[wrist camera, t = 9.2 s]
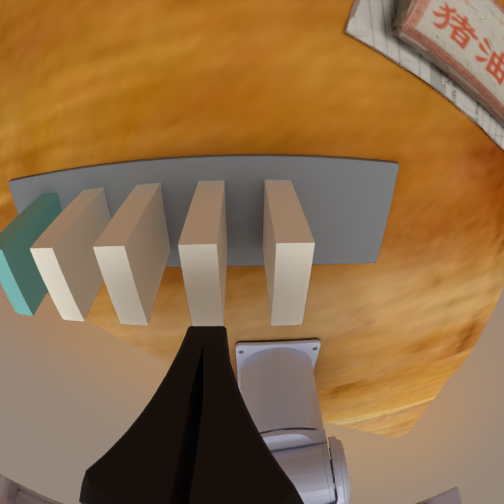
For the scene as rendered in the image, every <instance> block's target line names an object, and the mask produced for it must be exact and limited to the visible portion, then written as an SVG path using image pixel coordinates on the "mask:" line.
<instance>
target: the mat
mask: <svg viewBox="0 0 504 504" xmlns="http://www.w3.org/2000/svg"><path fill="white" fill-rule="evenodd" d="M398 167H399V164H398V163H397V162H392V161H383V160H372V159H361V158H347V157H332V156H311V155H272V154H245V155H206V156H186V157H170V158H156V159H145V160H134V161H125V162H116V163H107V164H99V165H92V166H85V167H78V168H71V169H65V170H59V171H53V172H48V173H42V174H37V175H32V176H27V177H22V178H17V179H13V180H10V181H9V182H8V183H9V187H10V190H11V194H12V197H13V200H14V204H15V207H16V210H17V213H18V215H19V214H20V213H21V212H22V211H23V210H24V209H26V208H27V207H28V206H29V205H30V204H31V203H32V202H33V201H34V200H35V199H37V198H38V197H39V196H40V195H41V194H49V193H58V196H59V201H60V205H61V209H62V211H63V210H64V209H65V208H66V207H67V206H68V205H69V204H70V203H71V202H72V201H73V200H74V199H75V198H76V197H77V196H78V195H79V194H80V193H81V192H82V191H83V190H85V189H94V188H104V191H105V195H106V200H107V204H108V209H109V213H110V217H111V219H112V218H113V216H114V215H115V213H116V212H117V211H118V209H119V208H120V206H121V205H122V204H123V202H124V201H125V200H126V198H127V197H128V196H129V194H130V193H131V192H132V190H133V189H134V188H135V186H136V185H138V184H152V183H161V190H162V197H163V204H164V211H165V218H166V224H167V231H168V237H169V243H170V249H171V250H170V253H169V257H168V260H167V263H166V266H165V267H181V261H180V255H179V249H178V243H179V240H180V236H181V233H182V230H183V227H184V223H185V220H186V217H187V214H188V211H189V208H190V205H191V202H192V199H193V196H194V193H195V190H196V187H197V184H198V181H215V180H225V201H226V225H227V246H228V251H227V266H265V264H264V255H263V221H264V181H265V180H291V182H292V184H293V187H294V189H295V192H296V194H297V197H298V199H299V202H300V205H301V207H302V210H303V212H304V215H305V218H306V220H307V223H308V225H309V228H310V231H311V233H312V236H313V239H314V242H315V246H314V253H313V260H312V265H319V264H357V263H376V261H377V257H378V254H379V250H380V246H381V243H382V239H383V235H384V231H385V227H386V223H387V219H388V215H389V210H390V206H391V202H392V197H393V192H394V188H395V183H396V178H397V173H398Z"/></svg>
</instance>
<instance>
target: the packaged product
mask: <svg viewBox="0 0 504 504" xmlns="http://www.w3.org/2000/svg"><path fill="white" fill-rule="evenodd" d="M344 33H346V34H348V35H350V36H352V37H353V38H355V39H357V40H359V41H360V42H362V43H364V44H365V45H367V46H369V47H370V48H372V49H374V50H376V51H377V52H379V53H381V54H382V55H384V56H385V57H387V58H389V59H390V60H392V61H393V62H395V63H396V64H398V65H400V66H401V67H403V68H405V69H407V70H408V71H410V72H412V73H414V74H415V75H417V76H418V77H420V78H421V79H422V80H424V81H425V82H426V83H428V84H429V85H430V86H432V87H433V88H434V89H435V90H437V91H438V92H439V93H440V94H442V95H443V96H444V97H446V98H447V99H448V100H449V101H450V102H452V103H453V104H454V105H455V106H456V107H457V108H458V109H459V110H460V111H461V112H462V113H463V114H464V115H466V116H467V117H468V118H469V119H470V120H472V121H473V122H474V123H476V124H477V125H479V126H480V127H481V128H482V129H483V130H484V131H485V132H486V133H487V134H488V135H489V136H490V138H491V139H492V140H493V141H494V142H495V143H496V144H497V145H498V146H499V147H500V148H502V149H503V150H504V8H503V7H502V6H501V5H500V4H499V3H498V2H497V1H496V0H355V1H354V3H353V6H352V8H351V11H350V15H349V18H348V21H347V24H346V27H345V30H344Z"/></svg>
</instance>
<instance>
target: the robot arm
mask: <svg viewBox="0 0 504 504" xmlns="http://www.w3.org/2000/svg"><path fill="white" fill-rule="evenodd" d="M320 346H321V342H320V340H301V341H281V342H250V343H238V344H236V362H237V378H238V385H237V382H236V379H235V376H234V372H233V369H232V366H231V362H230V356H229V348H228V340H227V331H226V328H225V327H224V326H190V327H189V328H188V330H187V333H186V335H185V338H184V340H183V342H182V344H181V347H180V349H179V351H178V353H177V355H176V357H175V359H174V361H173V363H172V365H171V367H170V369H169V371H168V372H167V375H166V376H165V378H164V379H163V381H162V383H161V384H160V386H159V388H158V389H157V391H156V393H155V394H154V396H153V397H152V399H151V400H150V402H149V403H148V405H147V406H146V407H145V409H144V410H143V412H142V413H141V414H140V416H139V417H138V418H137V420H136V421H135V422H134V423H133V425H132V426H131V427H130V428H129V429H128V431H127V432H126V433H125V434H124V435H123V436H122V437H121V438H120V439H119V440H118V441H117V442H116V443H115V445H114V446H113V447H112V448H111V449H110V450H109V451H108V452H107V453H106V454H105V455H103V457H101V458H100V459H99V460H98V461H97V462H96V463H94V464H93V465H92V466H91V467H90V468H89V469H87V470H86V473H85V476H84V479H83V482H82V487H81V493H80V499H79V501H80V502H81V503H82V504H350V500H349V495H350V485H349V477H348V470H347V464H346V459H345V453H344V449H343V445H342V442H341V441H340V440H338V439H336V438H335V437H334V436H333V437H329V438H328V439H329V446H330V448H329V451H330V457H331V460H330V458H329V452H328V446H327V440H326V434H325V429H324V428H323V421H322V415H321V410H320V404H319V398H318V393H317V387H316V382H315V377H314V371H313V370H314V367H315V364H316V360H317V357H318V353H319V350H320ZM333 483H335V490H334V484H333ZM0 504H62V503H60V502H57V501H55V500H52V499H50V498H47V497H45V496H43V495H41V494H38V493H37V492H35V491H33V490H30V489H28V488H26V487H24V486H22V485H20V484H18V483H16V482H14V481H12V480H11V479H8V478H7V477H5V476H3V475H1V474H0ZM416 504H462V502H461V498H460V493H459V489H458V487H454V488H452V489H450V490H448V491H446V492H443V493H441V494H439V495H437V496H434V497H432V498H429V499H427V500H424V501H422V502H419V503H416Z"/></svg>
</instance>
